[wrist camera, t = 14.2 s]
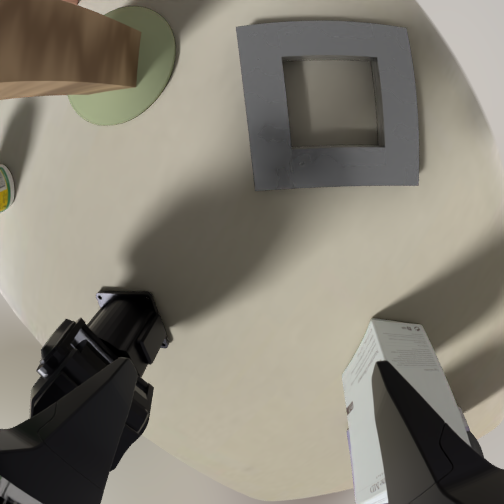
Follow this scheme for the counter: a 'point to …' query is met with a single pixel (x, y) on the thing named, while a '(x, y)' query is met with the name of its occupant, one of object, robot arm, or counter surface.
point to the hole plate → (337, 156)
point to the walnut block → (63, 50)
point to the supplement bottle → (6, 188)
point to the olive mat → (148, 73)
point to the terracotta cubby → (72, 1)
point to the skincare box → (361, 397)
